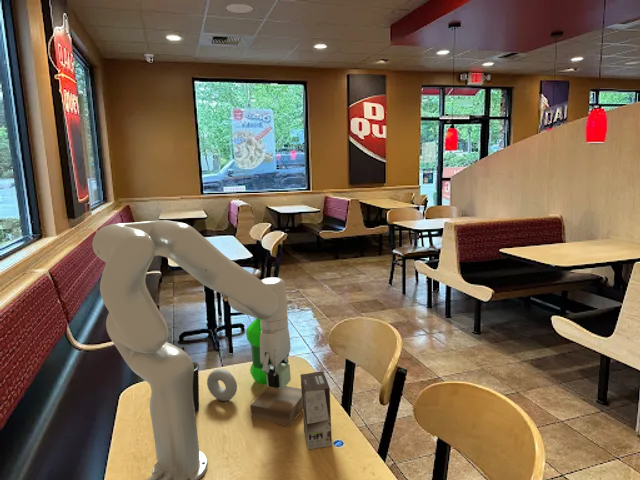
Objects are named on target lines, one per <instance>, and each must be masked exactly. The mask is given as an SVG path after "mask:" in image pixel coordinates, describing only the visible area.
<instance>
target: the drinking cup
mask: <svg viewBox="0 0 640 480" xmlns="http://www.w3.org/2000/svg"><path fill="white" fill-rule="evenodd" d="M181 349H182V350H183V351H184V352H186V350H185V346H181ZM192 363H193V367H194V375H193V402H194V409H195V414H197V413H198V412H199V409H200V392H199V390H200V389H199V388H200V384H199V380H200V378H199V368H200V365H199V363H198V362H196V361H192Z"/></svg>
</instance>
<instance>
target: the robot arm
mask: <svg viewBox="0 0 640 480" xmlns="http://www.w3.org/2000/svg"><path fill="white" fill-rule="evenodd" d="M92 249H93V250H92V251H93V253H94V255H95V256H96V257H97V258H98V259H99V260H101V261H103V262H104V263H105V265H104V268H103V271H102V274H101V278H100V283H99V292H100V293H99V294H100V296H101V299H102V301H103V303H104V306H105V307H106V309H107V311H108V314H107V317H106V321H105V327H106V332H107V334H108V337H109V338H110V340H111V341H112V343H113V345H114V346H115V348H116V349H117V351H118V352H119V354H120V355H121V357H122V359H123V361H124V362H125V363H126V364H127V366H128V368H130V370H131V371H132V372H133V373H134V374H136V375H137V376H138V377H140V378H141V379H143V380H144V381H145V382H146V383H148V384H149V386H150V389H151V392H150V393H151V395H150V399H149V413H150V418H151V424H152V430H153V431H152V432H153V433H152V434H153V439H154V447H155V452H156V453H155V455H156V461H157V462H156V463H154V465H153V468H152V471H151V476H150V477H148V478H147V479H146V480H199V479H201V478H202V477H203V476H204V475H205V473H206V471H207V469H208V459H207V456H206V454H205V453H204V452H202V451H200V445H199V436H198V428H197V421H196V420H197V419H196V413H195V409H194V402H193V375H194V367H193V363H192V362H193V360H192V358H191V356H189V354H188V353H187V352H186V351H185V352H184V351H183V350H182V348H180V347H178V346H176V345H174V344H172V343H170V342H168V338H169V328H168V324H167V322H166V320H165V318H164V317H163V315H162V313H161V311H160V310H159V308H158V306H157V303H155V301H154V299H153V298H152V295H151V293H150V292H149V289H148V287H147V283H146V278H147V273H148V270H149V268H150V266H151V264H152V262H153V259H154V257H157V256H159V257H164V258H168V259H170V260H171V261H173V262H174V263H175V264H176V265H178V266H179V267H180V268H182V269H183V270H184V271H185V272H187V274H189V275H191V276H192V277H193V278H194V279H196V281H198V282H199V283H200V284H202V285H204V286H205V287H207V288H209V289H210V290H212V291H214V292H217V293H219V294H222V295H224V296H226V297H227V300H228V305H229V306H230V308H231V309H233V310H234V311H236V312H238V313H241V314H244V315H247V316H249V317H253V318H254V319H260V321H261V330H262V331H261V334H260V362H261V364H262V365H263V368H262V371H263V372H265V373H266V374H267V375H268V385H269V387H274V388H279V374H277V367H278V364H279V363H284V364H289V363H290V362H289V356H290V352H291V348H292V347H291V338H290V331H289V319H288V307H287V306H288V303H287V302H288V301H287V291H286V290H287V289H286V283H285V281H284V279H283V278H280V277H275V276H274V277H273V276H272V277H265V278H263V279H260V278H258V277H257V276H255V275H254V273H253V274H252V273H251V272H250V271H248V270H246V269H245V268H244V267H242V266H240V265H239V264H238V263H236V262H235V261H234V260H232V259H230V258H228V257H227V256H226V255H225V254H224V253H222V252H221V251H220V250H219V249H218V248H217V247H216V246H215V245H214V244H212V243H211V242H210V241H209V240H208V239H207V238H206V237H204V236H203V235H202V234H201V233H200V232H199V231H198V230H196V229H195V227H193V226H191V225H189V224H188V223H184V222H179V221H172V220H168V219H163V220H161V219H160V220H150V221H139V222H138V221H136V222H123V223H111V224H107V225H105V226H103V227H101V228H100V229H99V230H98V231H97V232H95V234H94V236H93V239H92ZM270 361H271V362H272V363H270ZM270 366H273V367H274V370H272V369H270Z"/></svg>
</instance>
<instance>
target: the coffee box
mask: <svg viewBox="0 0 640 480" xmlns="http://www.w3.org/2000/svg"><path fill="white" fill-rule="evenodd" d="M299 376H300V387H301V388H300V389H301V393H302V408H303V409H302V423H303V431H304V436H305V440H306V446H307V449H308V450H313V449H320V448H325V447H332V445H333V443H332V442H333V441H332V439H333V438H332V437H333V436H332V413H331V388H330V385H329V382H328V379H327V378H326V374H325V372H324V371H323V370H321V371H315V372H310V373H309V372H308V373H302V374H300V375H299Z"/></svg>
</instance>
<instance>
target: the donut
mask: <svg viewBox="0 0 640 480" xmlns="http://www.w3.org/2000/svg"><path fill="white" fill-rule="evenodd" d="M219 381H220V382H222V384H224V386H225V388H223V387H221V386H220V384H219ZM206 383H207V389H208V391H209V393H210V394H211V396H213V397H214V398H216V400H219V401H225V402H227V401H230V400H231V399H233V398H234V397H235V395H236V393H237V389H238V384H237V381H236V378H235V377H234V375H233V374H232V373H231V372H230V371H228V370H227V369H224V368H216V369H214V370H212V371H211V372H210V373H209V375H208V376H207V381H206Z"/></svg>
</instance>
